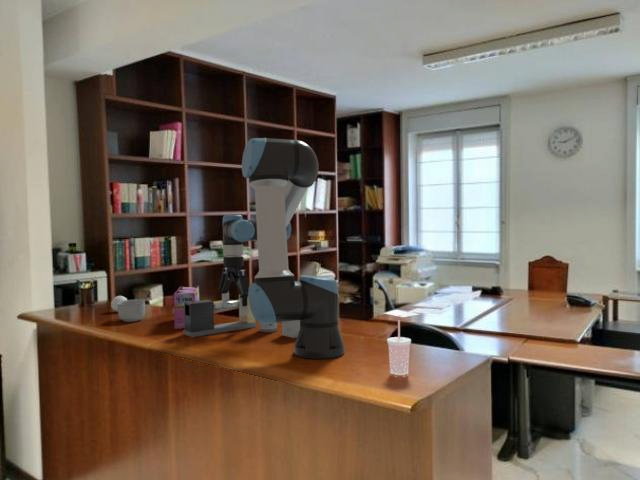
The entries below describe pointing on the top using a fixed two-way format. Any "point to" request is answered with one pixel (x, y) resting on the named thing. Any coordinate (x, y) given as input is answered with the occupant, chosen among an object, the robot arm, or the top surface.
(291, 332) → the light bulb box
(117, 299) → the white ovoid
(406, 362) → the beverage cup
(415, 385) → the top surface
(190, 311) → the sleeve and socket
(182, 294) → the gum box
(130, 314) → the teacup
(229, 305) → the slip tube
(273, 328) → the travel mug
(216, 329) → the base board
